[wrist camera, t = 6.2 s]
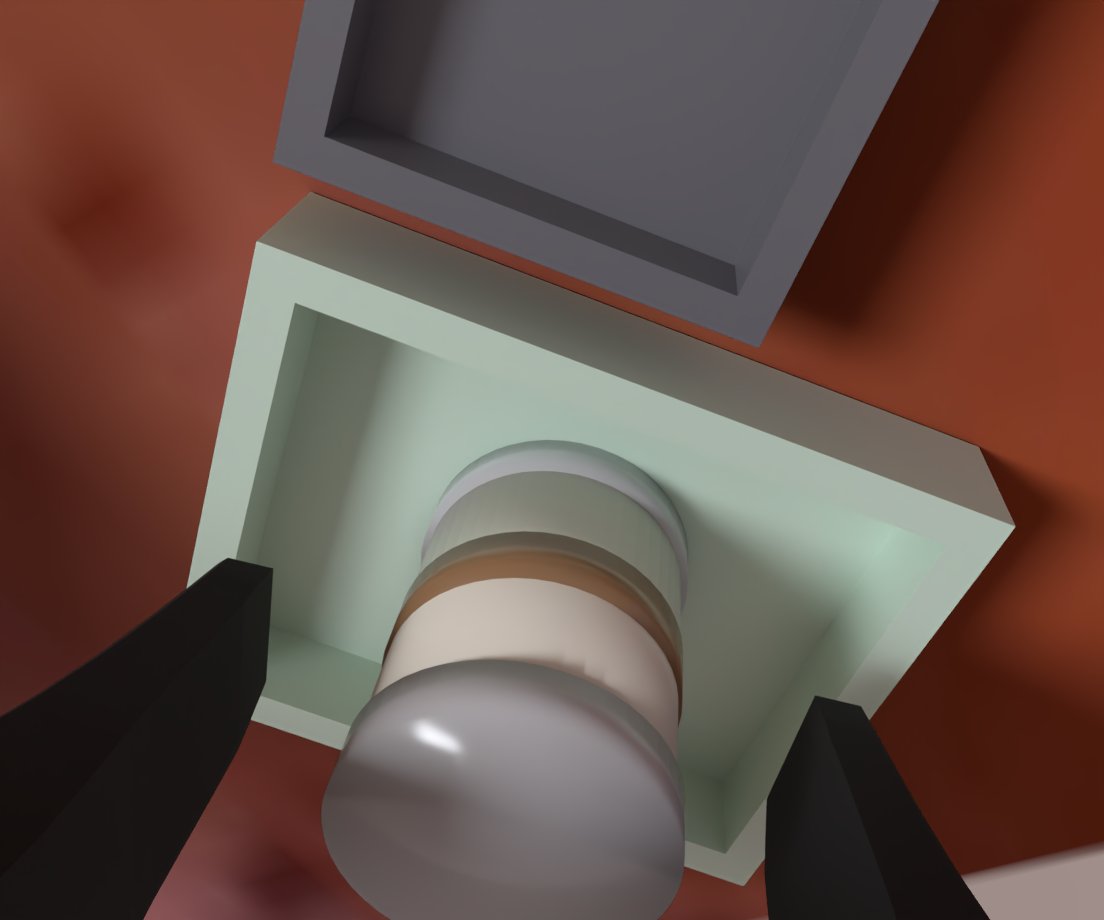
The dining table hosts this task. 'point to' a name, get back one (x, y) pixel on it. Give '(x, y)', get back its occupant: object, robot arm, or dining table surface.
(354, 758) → the fuse
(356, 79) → the grey square holder
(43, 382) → the dining table surface
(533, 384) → the parts tray
